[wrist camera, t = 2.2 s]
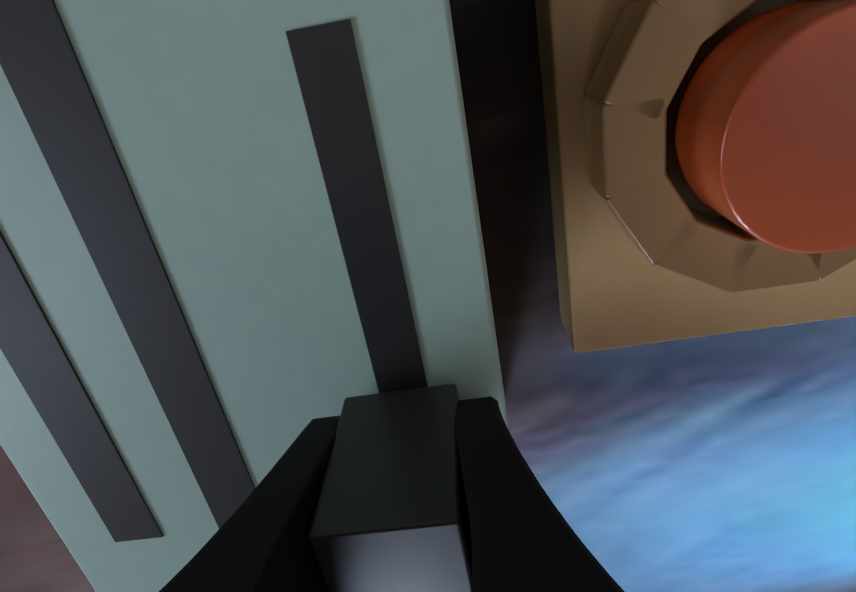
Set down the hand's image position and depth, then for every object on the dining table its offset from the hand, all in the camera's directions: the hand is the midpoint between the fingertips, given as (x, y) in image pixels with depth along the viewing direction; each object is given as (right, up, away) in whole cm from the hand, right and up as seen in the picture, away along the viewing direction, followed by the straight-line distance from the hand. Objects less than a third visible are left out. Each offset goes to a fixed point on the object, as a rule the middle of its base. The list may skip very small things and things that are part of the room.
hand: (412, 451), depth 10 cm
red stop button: (+7, +6, +1) cm, 9 cm away
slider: (0, 0, 0) cm, 0 cm away
